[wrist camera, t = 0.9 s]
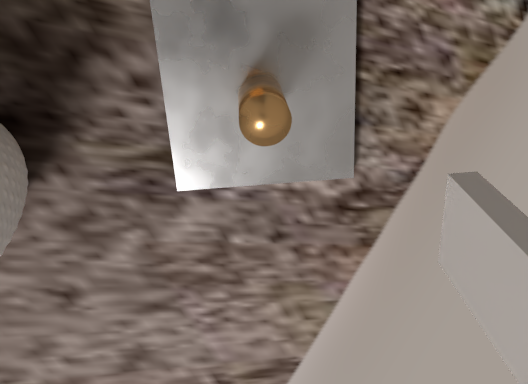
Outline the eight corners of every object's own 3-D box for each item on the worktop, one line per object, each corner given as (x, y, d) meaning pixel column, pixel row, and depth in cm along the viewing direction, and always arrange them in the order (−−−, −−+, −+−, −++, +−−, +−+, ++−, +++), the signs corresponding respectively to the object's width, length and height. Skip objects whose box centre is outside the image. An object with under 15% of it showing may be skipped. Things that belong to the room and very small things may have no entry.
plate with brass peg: (147, -37, 29) (124, -39, 23) (352, -51, 29) (384, -56, 23) (179, 183, 34) (167, 230, 28) (350, 171, 35) (374, 213, 29)
